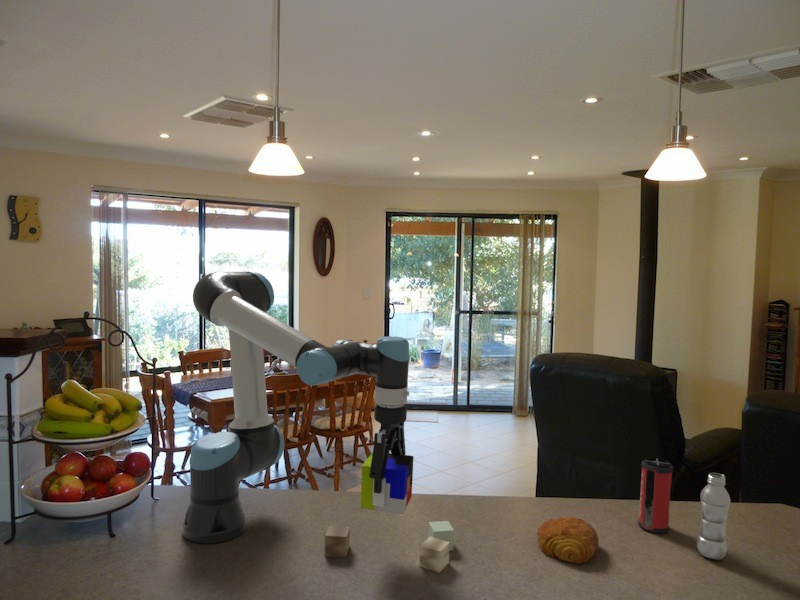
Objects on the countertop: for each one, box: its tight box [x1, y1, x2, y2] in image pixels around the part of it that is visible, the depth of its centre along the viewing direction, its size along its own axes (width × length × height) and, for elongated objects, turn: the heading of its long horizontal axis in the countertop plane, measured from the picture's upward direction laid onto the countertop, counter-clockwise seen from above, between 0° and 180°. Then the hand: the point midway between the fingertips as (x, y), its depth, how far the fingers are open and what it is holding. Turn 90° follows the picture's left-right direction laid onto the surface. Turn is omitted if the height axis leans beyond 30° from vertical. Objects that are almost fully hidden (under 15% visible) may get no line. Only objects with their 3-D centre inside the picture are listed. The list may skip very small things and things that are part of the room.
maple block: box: [419, 537, 450, 574], centre depth 133 cm, size 5×5×5 cm
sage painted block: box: [427, 520, 455, 551], centre depth 142 cm, size 5×5×5 cm
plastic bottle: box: [696, 472, 732, 561], centre depth 140 cm, size 6×7×20 cm
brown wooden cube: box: [324, 525, 351, 558], centre depth 138 cm, size 5×5×5 cm
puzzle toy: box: [360, 451, 414, 515], centre depth 137 cm, size 10×10×10 cm
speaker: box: [637, 457, 675, 534], centre depth 154 cm, size 8×8×18 cm
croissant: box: [536, 516, 599, 565], centre depth 143 cm, size 14×16×8 cm
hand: (387, 495), depth 137 cm, fingers closed on puzzle toy, 10 cm apart
